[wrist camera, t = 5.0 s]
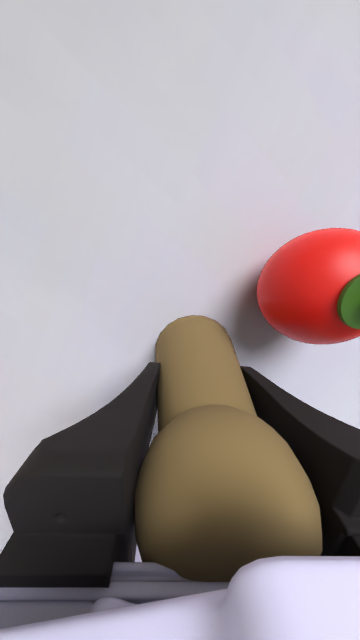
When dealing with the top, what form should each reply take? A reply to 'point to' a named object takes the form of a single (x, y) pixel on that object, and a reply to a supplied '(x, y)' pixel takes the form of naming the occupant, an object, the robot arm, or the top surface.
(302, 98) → the top surface
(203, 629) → the robot arm
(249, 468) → the tan rounded tall piece
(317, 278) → the tomato
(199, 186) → the top surface
